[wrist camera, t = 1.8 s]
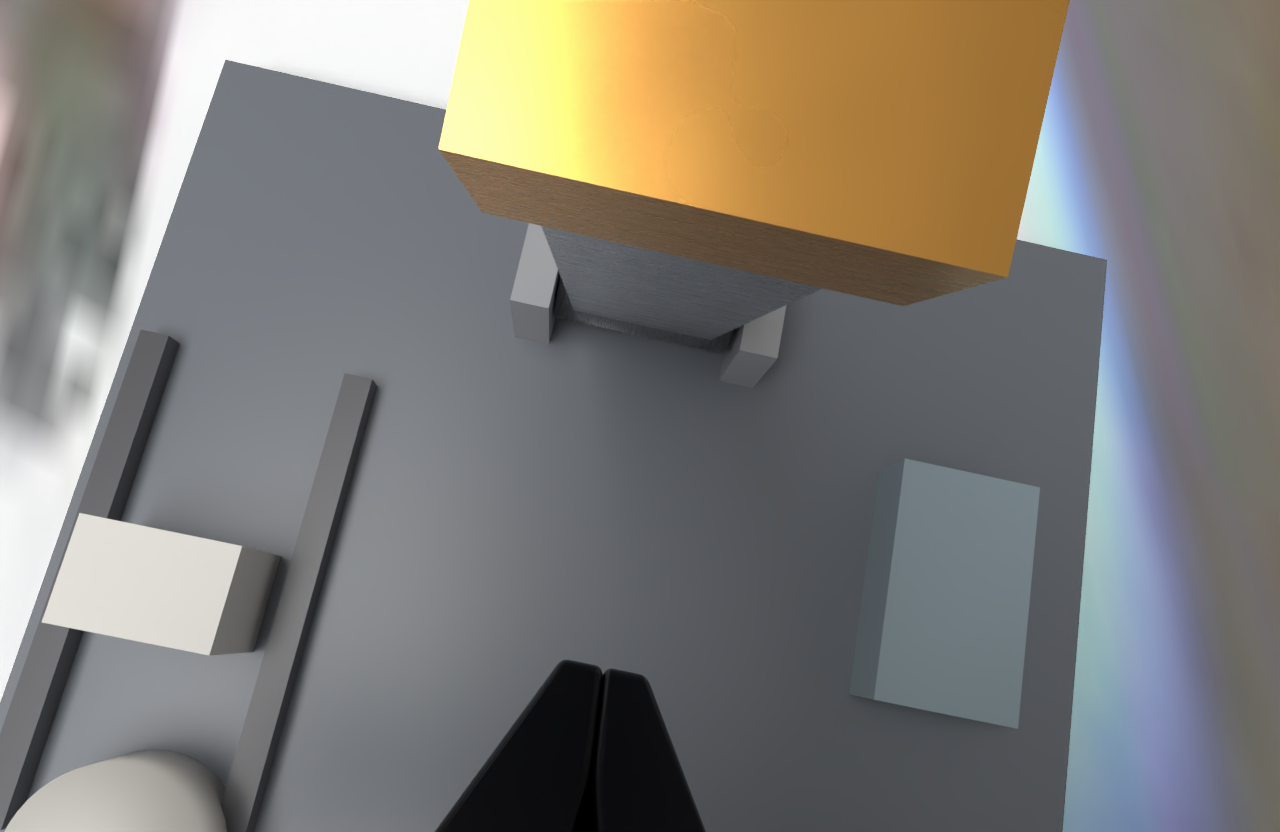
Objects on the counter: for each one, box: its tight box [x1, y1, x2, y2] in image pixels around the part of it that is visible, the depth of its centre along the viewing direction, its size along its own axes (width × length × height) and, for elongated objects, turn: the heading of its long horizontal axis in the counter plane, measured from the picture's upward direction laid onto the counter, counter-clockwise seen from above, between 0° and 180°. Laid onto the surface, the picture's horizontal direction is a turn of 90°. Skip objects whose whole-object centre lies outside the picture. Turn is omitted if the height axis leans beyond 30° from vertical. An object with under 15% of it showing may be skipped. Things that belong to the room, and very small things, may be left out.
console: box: [0, 60, 1107, 832], centre depth 19 cm, size 24×22×4 cm
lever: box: [439, 0, 1069, 354], centre depth 13 cm, size 2×4×16 cm, turn 78°
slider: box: [42, 513, 281, 656], centre depth 18 cm, size 2×3×2 cm, turn 78°
